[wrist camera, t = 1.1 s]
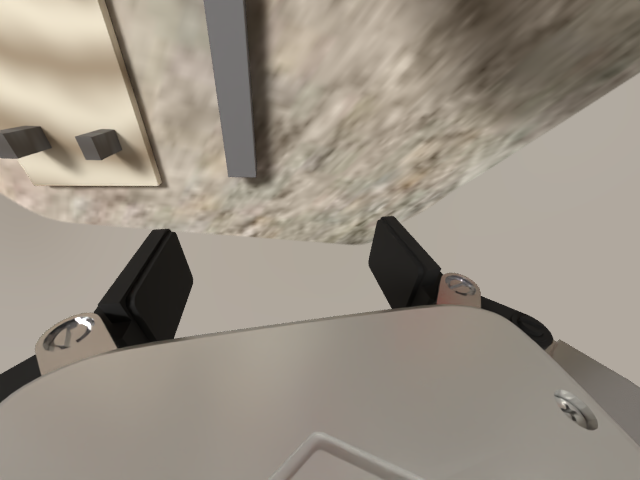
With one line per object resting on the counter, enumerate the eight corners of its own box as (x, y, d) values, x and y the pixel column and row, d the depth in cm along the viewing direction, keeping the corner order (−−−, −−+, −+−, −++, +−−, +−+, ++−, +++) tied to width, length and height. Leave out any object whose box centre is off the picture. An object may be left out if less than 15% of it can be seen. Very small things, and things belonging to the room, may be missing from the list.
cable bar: (199, -90, 18) (185, -127, 15) (239, -80, 19) (234, -114, 15) (232, 166, 29) (228, 176, 26) (256, 166, 30) (255, 177, 26)
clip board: (-219, -246, 12) (-465, -412, 8) (49, -175, 15) (-35, -275, 11) (42, 181, 26) (-1, 201, 22) (162, 182, 28) (144, 199, 24)
